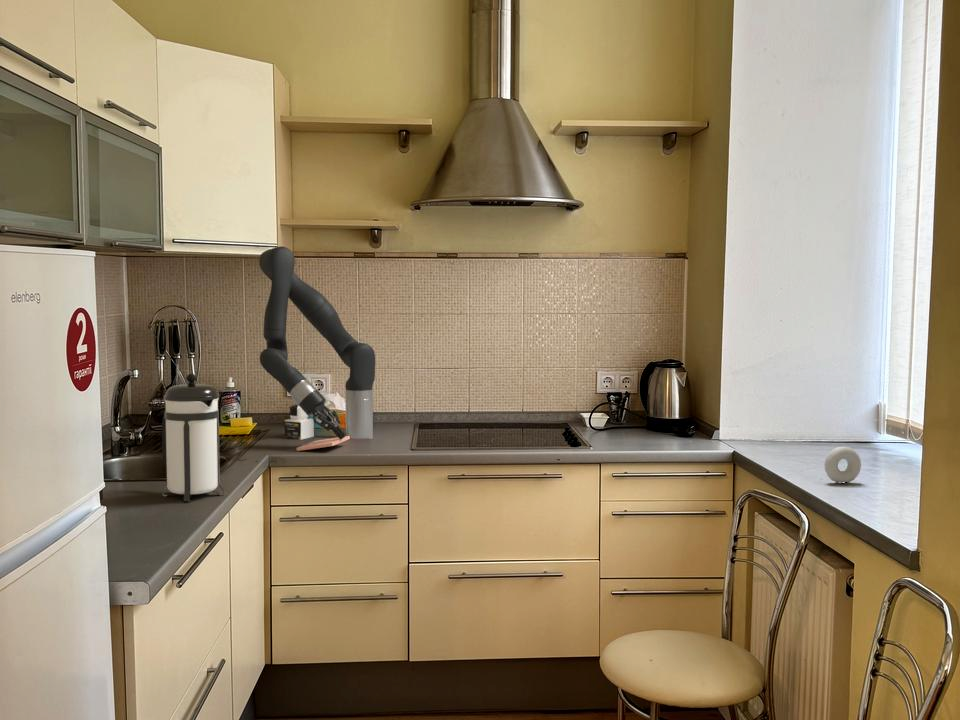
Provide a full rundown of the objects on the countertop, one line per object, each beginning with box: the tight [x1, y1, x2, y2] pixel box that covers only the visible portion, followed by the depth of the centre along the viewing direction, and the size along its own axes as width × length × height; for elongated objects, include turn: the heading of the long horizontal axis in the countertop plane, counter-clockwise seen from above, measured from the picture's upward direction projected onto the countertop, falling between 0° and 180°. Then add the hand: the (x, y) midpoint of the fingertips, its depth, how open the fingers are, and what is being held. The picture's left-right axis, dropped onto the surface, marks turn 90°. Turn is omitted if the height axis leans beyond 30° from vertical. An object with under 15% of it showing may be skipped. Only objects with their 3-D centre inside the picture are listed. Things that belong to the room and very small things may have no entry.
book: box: [296, 436, 351, 452], centre depth 271 cm, size 14×1×12 cm
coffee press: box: [160, 373, 226, 503], centre depth 210 cm, size 17×16×30 cm
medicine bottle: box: [283, 404, 315, 441], centre depth 292 cm, size 7×7×12 cm
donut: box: [824, 446, 862, 483], centre depth 229 cm, size 10×4×10 cm, turn 98°
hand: (343, 437), depth 269 cm, fingers closed
